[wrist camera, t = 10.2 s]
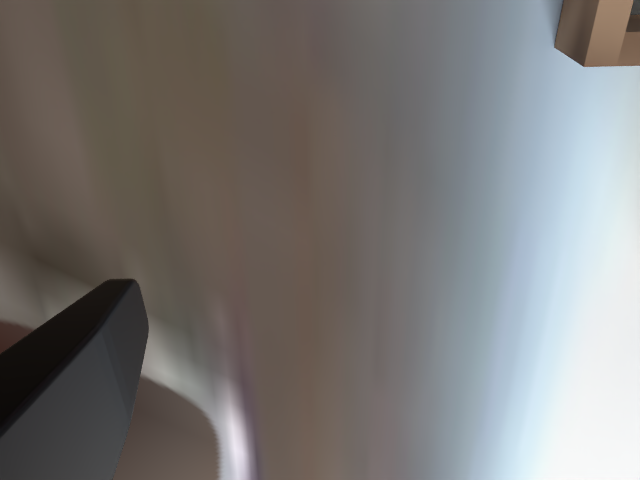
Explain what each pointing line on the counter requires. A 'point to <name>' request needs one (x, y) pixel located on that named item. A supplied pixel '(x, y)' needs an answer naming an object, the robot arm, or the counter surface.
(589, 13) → the walnut holder
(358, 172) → the counter surface
